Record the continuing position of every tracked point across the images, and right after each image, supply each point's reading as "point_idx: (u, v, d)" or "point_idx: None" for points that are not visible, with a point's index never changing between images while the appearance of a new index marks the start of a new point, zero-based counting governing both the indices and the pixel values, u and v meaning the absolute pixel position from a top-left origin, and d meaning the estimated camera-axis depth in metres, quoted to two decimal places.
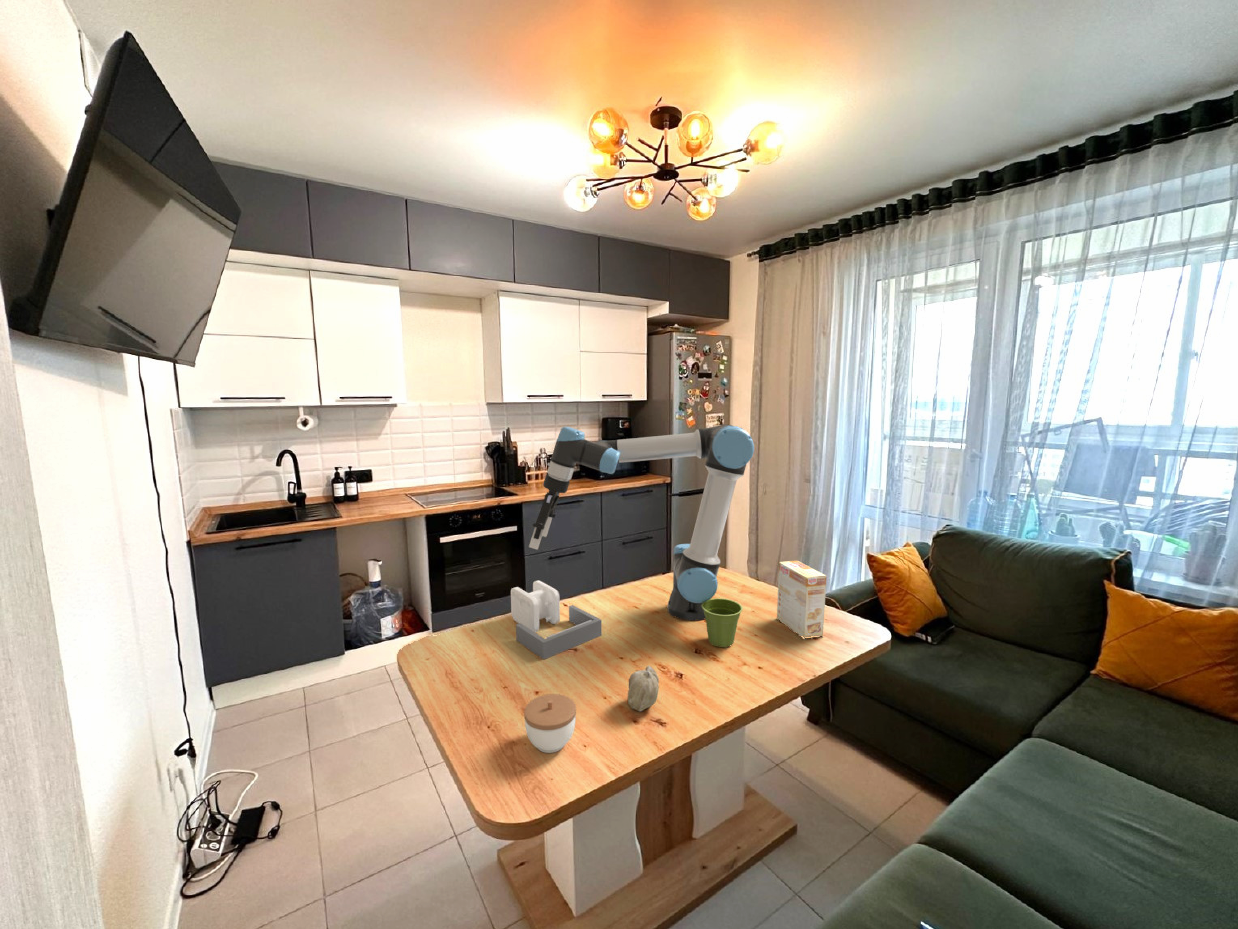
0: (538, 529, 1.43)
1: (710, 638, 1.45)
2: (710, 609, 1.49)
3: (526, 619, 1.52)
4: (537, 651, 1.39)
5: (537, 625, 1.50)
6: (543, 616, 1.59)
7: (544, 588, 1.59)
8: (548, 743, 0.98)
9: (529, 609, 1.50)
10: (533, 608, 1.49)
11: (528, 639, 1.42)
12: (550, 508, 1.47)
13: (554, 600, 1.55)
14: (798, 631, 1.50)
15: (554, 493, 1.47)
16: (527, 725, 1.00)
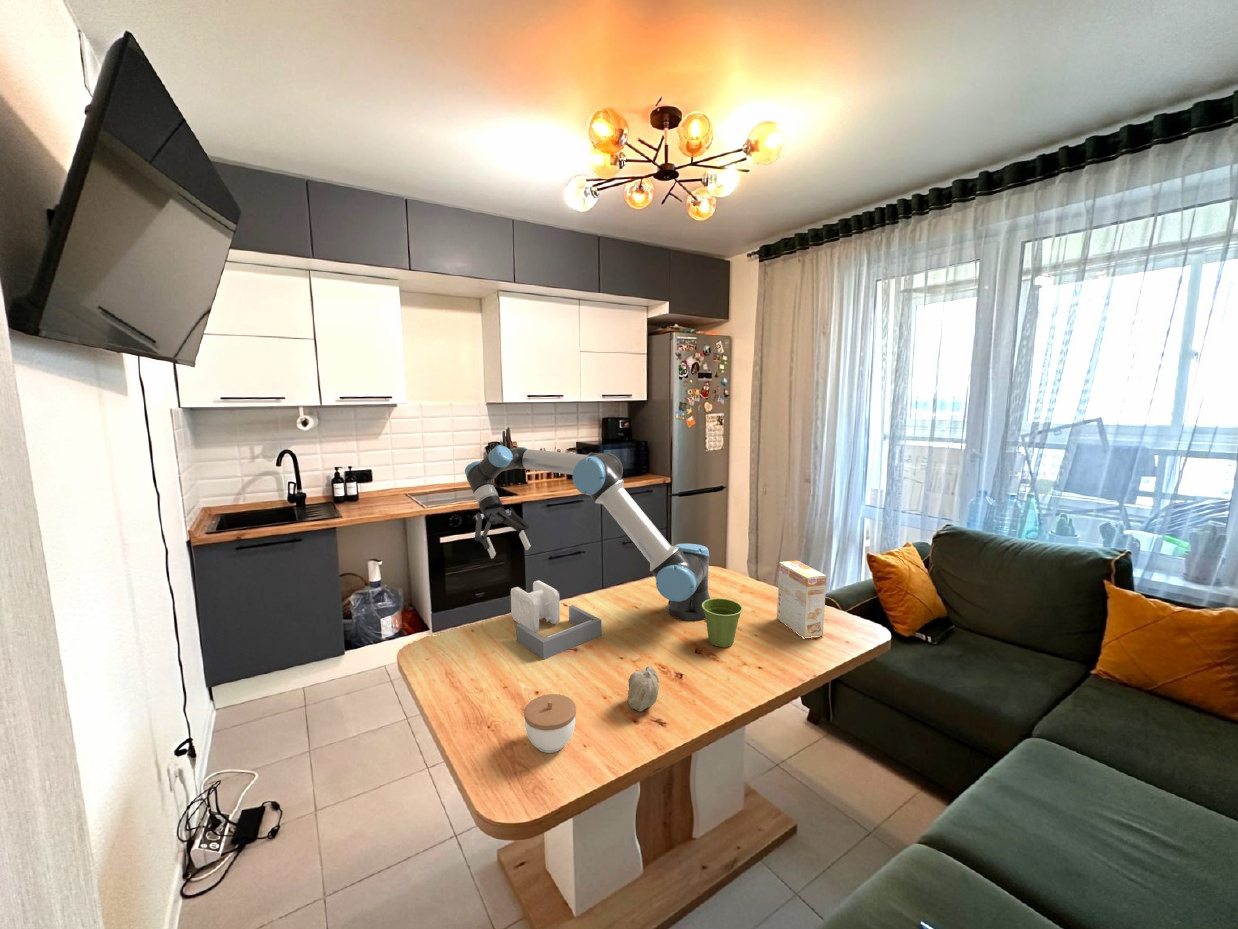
0: (482, 540, 1.63)
1: (710, 638, 1.45)
2: (711, 608, 1.49)
3: (526, 619, 1.52)
4: (537, 651, 1.39)
5: (537, 625, 1.50)
6: (543, 616, 1.59)
7: (544, 588, 1.59)
8: (548, 743, 0.98)
9: (529, 609, 1.50)
10: (533, 608, 1.49)
11: (528, 639, 1.42)
12: (488, 521, 1.67)
13: (554, 600, 1.55)
14: (798, 631, 1.50)
15: (484, 510, 1.70)
16: (527, 725, 1.00)
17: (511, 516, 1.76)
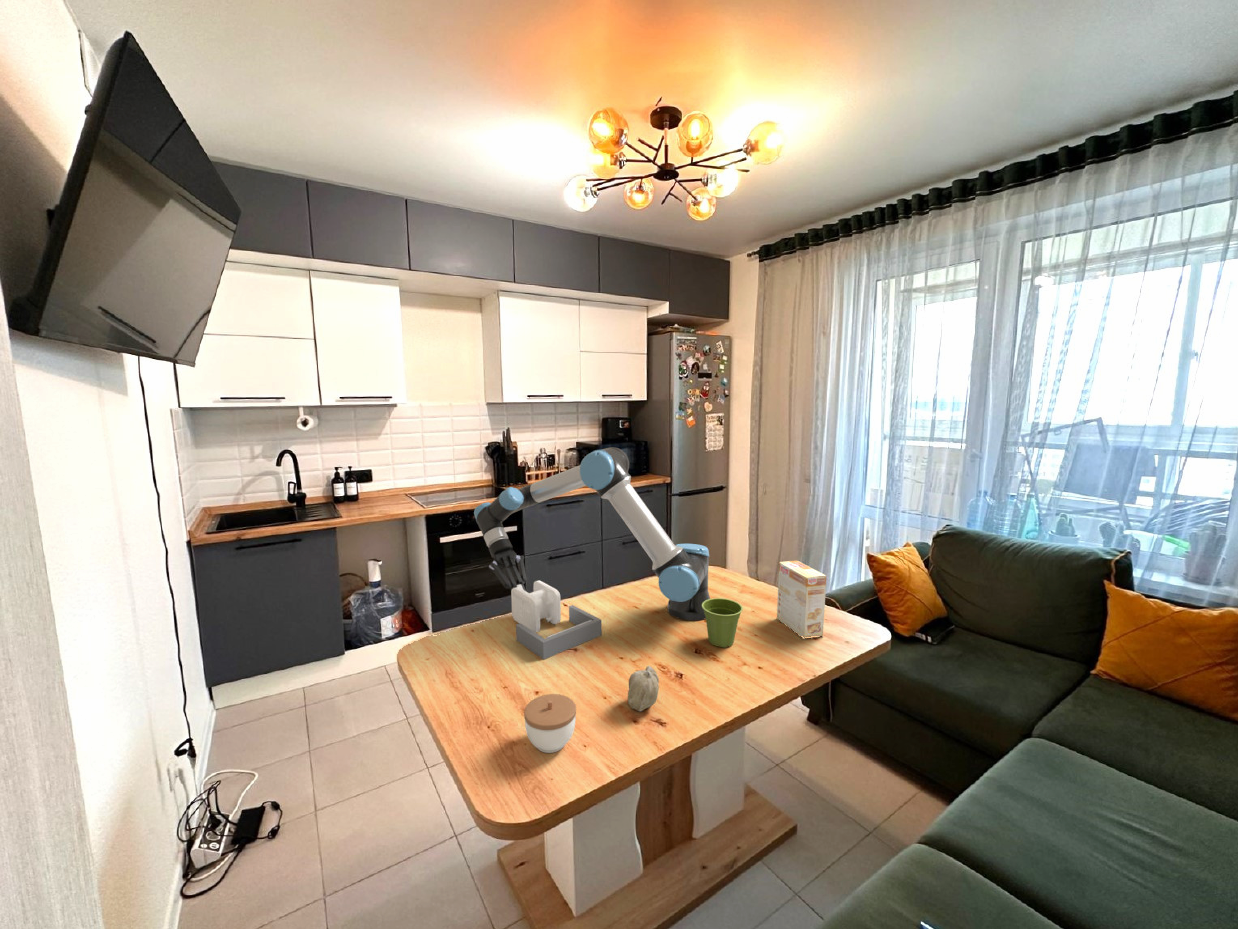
0: (512, 588, 1.63)
1: (710, 638, 1.45)
2: (711, 608, 1.49)
3: (526, 619, 1.52)
4: (537, 651, 1.39)
5: (538, 625, 1.50)
6: (544, 616, 1.58)
7: (545, 588, 1.59)
8: (548, 743, 0.98)
9: (530, 610, 1.50)
10: (535, 608, 1.48)
11: (528, 639, 1.42)
12: (505, 568, 1.65)
13: (555, 600, 1.55)
14: (798, 631, 1.50)
15: (494, 555, 1.67)
16: (527, 725, 1.00)
17: (518, 563, 1.70)
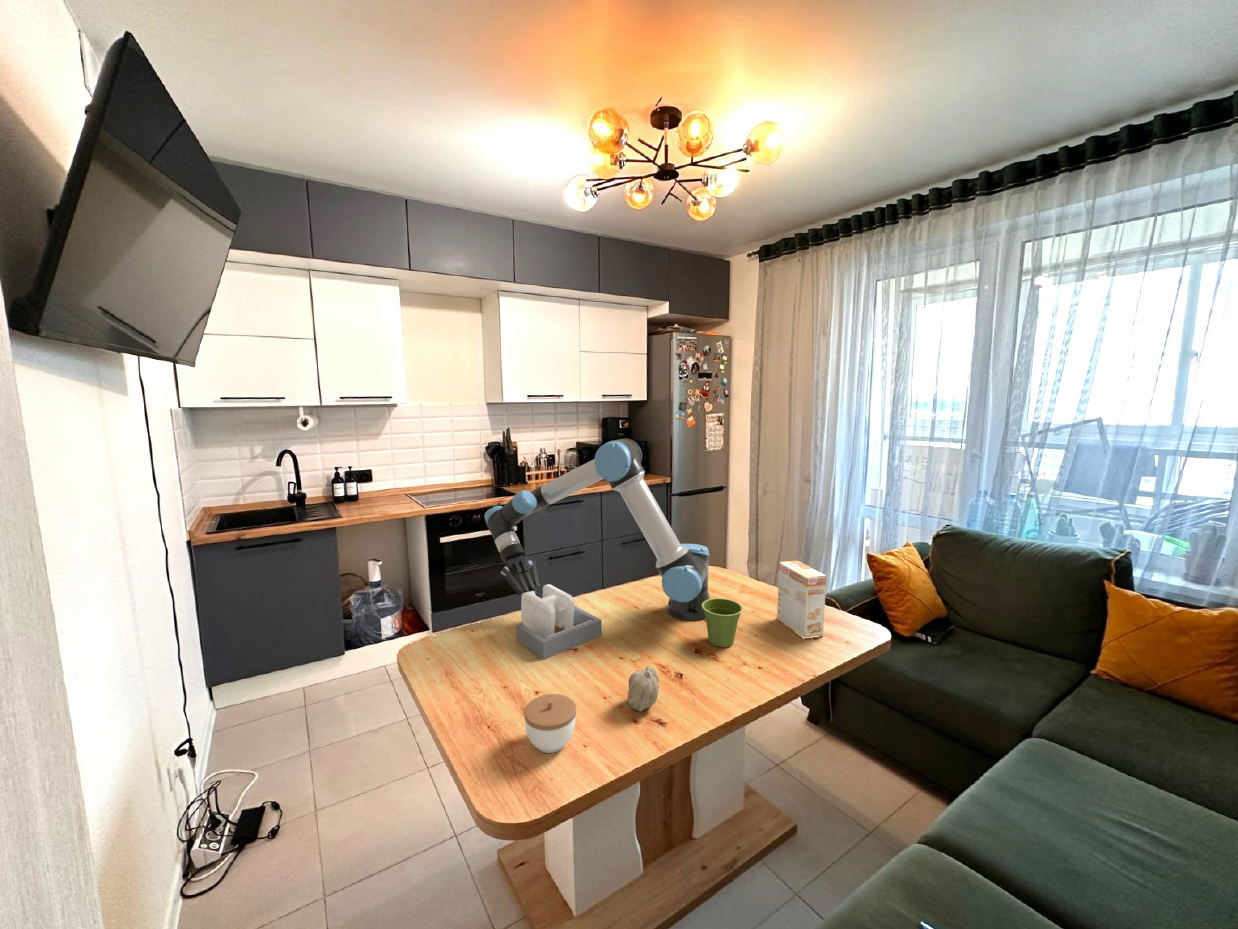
0: None
1: (710, 638, 1.45)
2: (711, 608, 1.49)
3: (540, 626, 1.47)
4: (537, 651, 1.39)
5: (553, 633, 1.45)
6: (555, 622, 1.54)
7: (557, 593, 1.54)
8: (548, 743, 0.98)
9: (545, 617, 1.45)
10: (550, 616, 1.44)
11: (528, 639, 1.42)
12: (517, 574, 1.60)
13: (569, 606, 1.50)
14: (798, 631, 1.50)
15: (506, 560, 1.61)
16: (527, 725, 1.00)
17: (531, 569, 1.65)
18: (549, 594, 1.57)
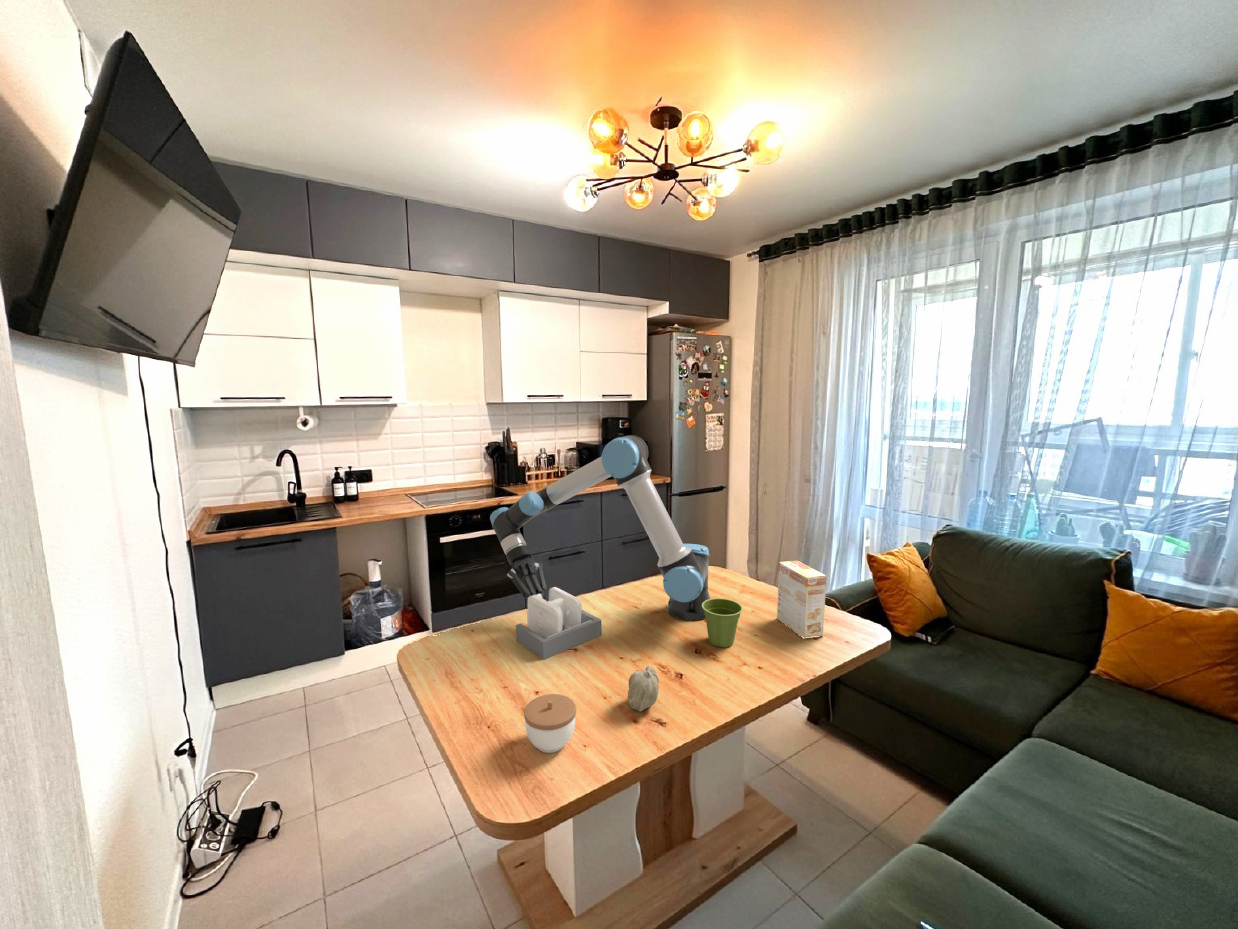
0: None
1: (710, 638, 1.45)
2: (711, 608, 1.49)
3: (547, 630, 1.45)
4: (537, 651, 1.39)
5: None
6: (562, 625, 1.52)
7: (564, 596, 1.52)
8: (548, 743, 0.98)
9: (552, 620, 1.43)
10: (558, 619, 1.41)
11: (528, 639, 1.42)
12: (524, 576, 1.57)
13: (576, 609, 1.48)
14: (798, 631, 1.50)
15: (512, 562, 1.59)
16: (527, 725, 1.00)
17: (537, 571, 1.63)
18: (555, 597, 1.54)
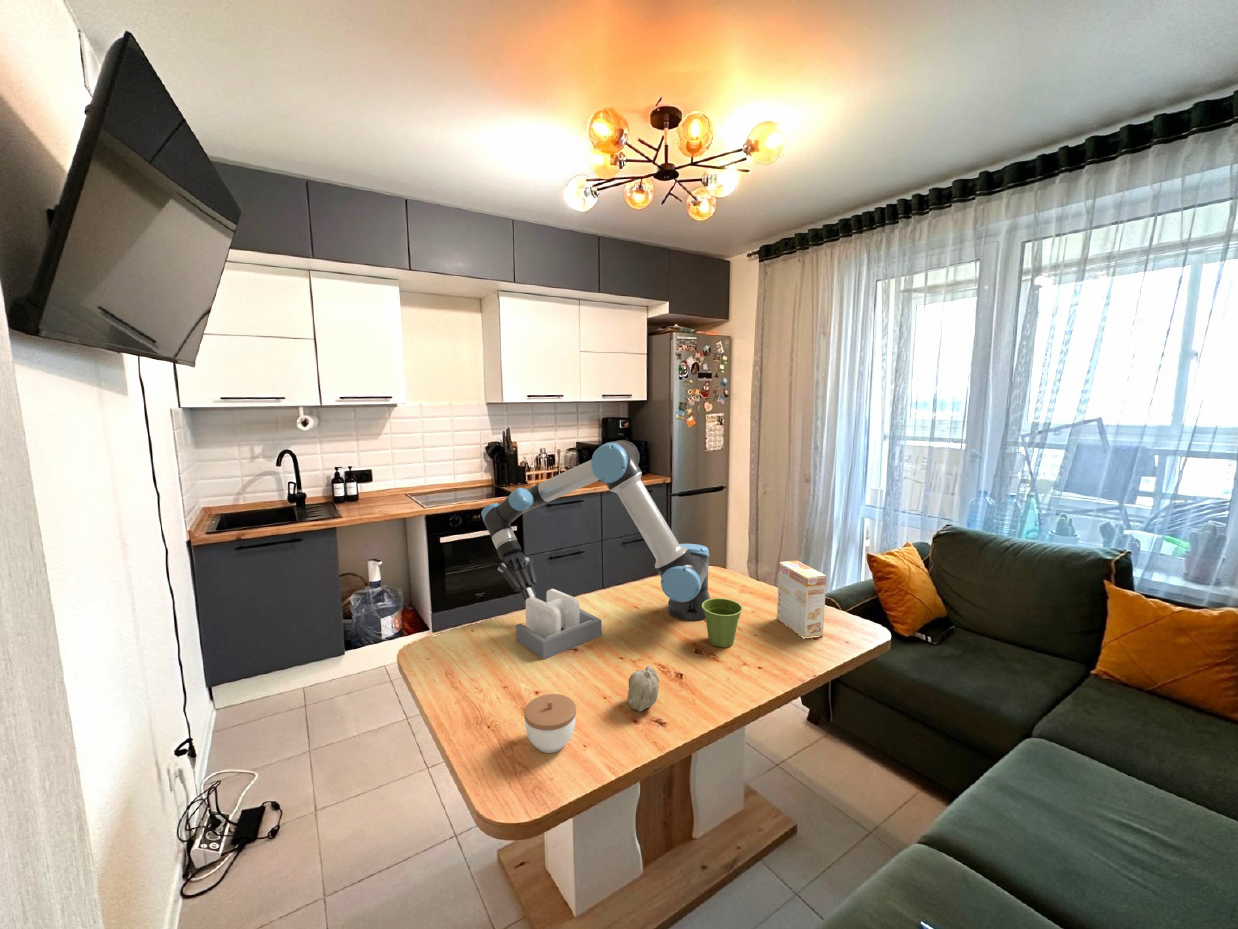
0: (521, 591, 1.59)
1: (710, 638, 1.45)
2: (711, 608, 1.49)
3: (546, 630, 1.45)
4: (537, 651, 1.39)
5: None
6: (561, 626, 1.52)
7: (561, 597, 1.52)
8: (548, 743, 0.98)
9: (551, 620, 1.43)
10: (556, 618, 1.42)
11: (528, 639, 1.42)
12: (514, 570, 1.61)
13: (574, 609, 1.49)
14: (798, 631, 1.50)
15: (503, 557, 1.62)
16: (527, 725, 1.00)
17: (527, 566, 1.66)
18: (553, 598, 1.55)
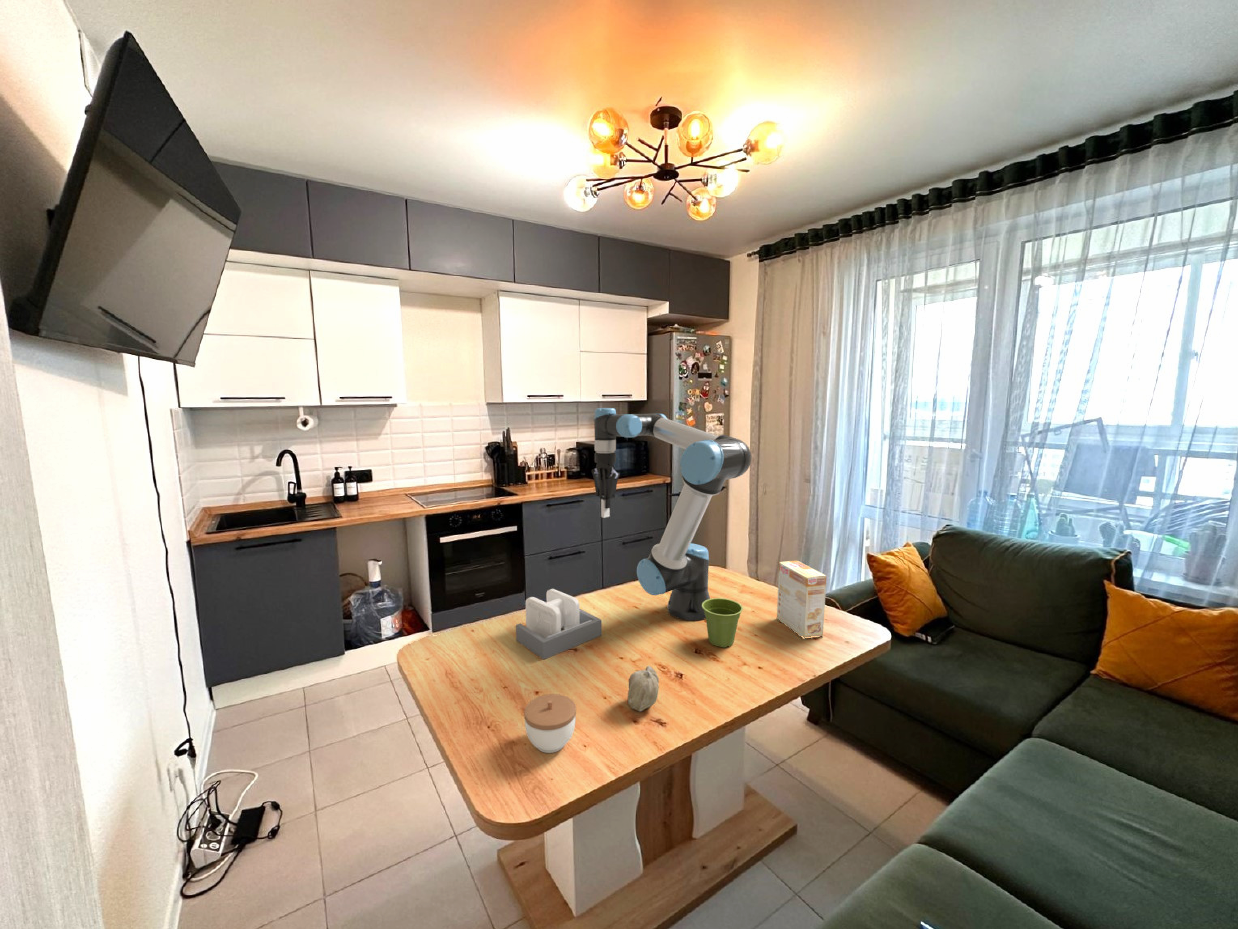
0: None
1: (710, 638, 1.45)
2: (711, 608, 1.49)
3: (546, 630, 1.45)
4: (537, 651, 1.39)
5: None
6: (561, 626, 1.52)
7: (561, 597, 1.52)
8: (548, 743, 0.98)
9: (551, 620, 1.43)
10: (556, 618, 1.42)
11: (528, 639, 1.42)
12: None
13: (574, 609, 1.49)
14: (798, 631, 1.50)
15: None
16: (527, 725, 1.00)
17: None
18: (553, 598, 1.55)
